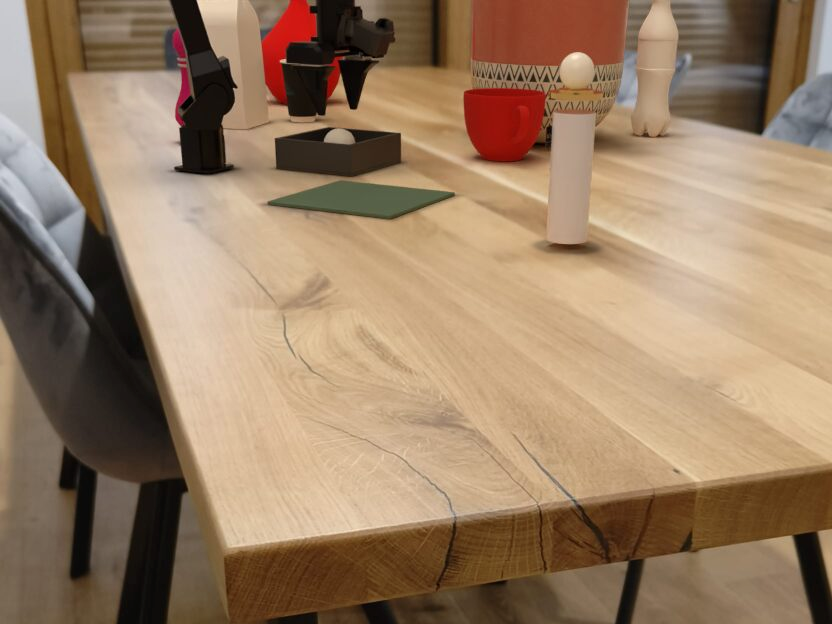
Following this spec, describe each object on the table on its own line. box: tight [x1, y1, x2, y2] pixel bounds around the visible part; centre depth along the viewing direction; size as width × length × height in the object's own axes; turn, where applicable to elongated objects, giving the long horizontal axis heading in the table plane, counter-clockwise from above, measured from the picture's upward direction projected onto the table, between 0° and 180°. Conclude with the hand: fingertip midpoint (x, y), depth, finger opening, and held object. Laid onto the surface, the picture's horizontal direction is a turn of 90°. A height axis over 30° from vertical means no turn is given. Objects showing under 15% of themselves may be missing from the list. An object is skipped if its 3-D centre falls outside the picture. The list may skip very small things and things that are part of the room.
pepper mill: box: [171, 28, 209, 127], centre depth 186 cm, size 7×7×20 cm
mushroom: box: [324, 127, 355, 144], centre depth 169 cm, size 5×5×5 cm
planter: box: [470, 0, 631, 144], centre depth 191 cm, size 27×27×27 cm
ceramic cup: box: [462, 88, 546, 162], centre depth 175 cm, size 13×17×10 cm
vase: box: [261, 0, 344, 105], centre depth 239 cm, size 18×18×30 cm
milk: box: [197, 0, 270, 130], centre depth 206 cm, size 12×12×26 cm
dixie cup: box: [280, 59, 318, 123], centre depth 215 cm, size 8×8×11 cm
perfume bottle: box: [544, 52, 603, 245], centre depth 119 cm, size 6×6×20 cm
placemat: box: [267, 179, 456, 220], centre depth 146 cm, size 18×18×1 cm
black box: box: [274, 126, 402, 177], centre depth 170 cm, size 15×13×4 cm
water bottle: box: [630, 0, 680, 138], centre depth 200 cm, size 7×7×25 cm
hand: (337, 112), depth 167 cm, fingers open, 9 cm apart
